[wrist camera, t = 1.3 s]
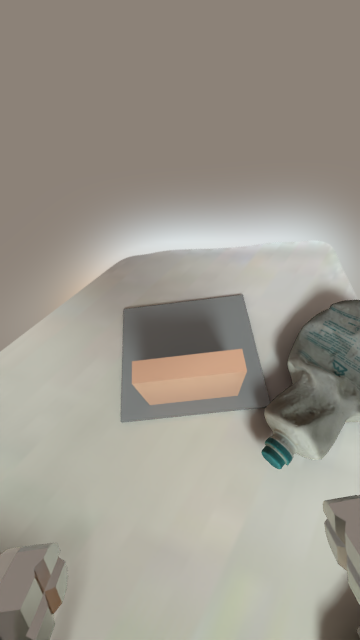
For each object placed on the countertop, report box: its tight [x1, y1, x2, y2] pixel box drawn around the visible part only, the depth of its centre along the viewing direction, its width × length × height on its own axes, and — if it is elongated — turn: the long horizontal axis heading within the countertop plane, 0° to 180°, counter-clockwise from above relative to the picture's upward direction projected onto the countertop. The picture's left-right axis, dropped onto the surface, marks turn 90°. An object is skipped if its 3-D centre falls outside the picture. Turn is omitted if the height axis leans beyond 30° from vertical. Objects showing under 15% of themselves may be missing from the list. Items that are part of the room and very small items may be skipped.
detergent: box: [261, 300, 360, 469], centre depth 33 cm, size 13×7×25 cm
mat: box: [121, 295, 270, 422], centre depth 40 cm, size 20×18×1 cm
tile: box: [132, 349, 247, 405], centre depth 32 cm, size 12×3×10 cm, turn 95°
